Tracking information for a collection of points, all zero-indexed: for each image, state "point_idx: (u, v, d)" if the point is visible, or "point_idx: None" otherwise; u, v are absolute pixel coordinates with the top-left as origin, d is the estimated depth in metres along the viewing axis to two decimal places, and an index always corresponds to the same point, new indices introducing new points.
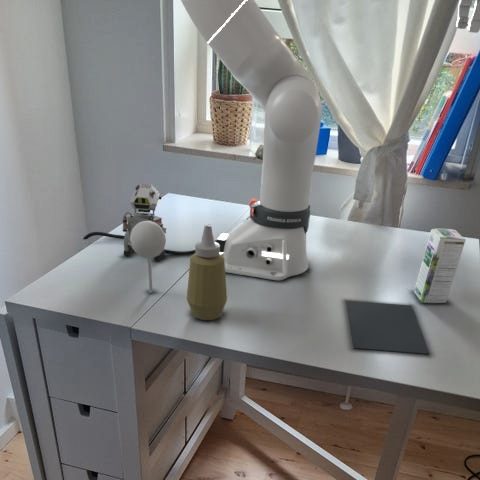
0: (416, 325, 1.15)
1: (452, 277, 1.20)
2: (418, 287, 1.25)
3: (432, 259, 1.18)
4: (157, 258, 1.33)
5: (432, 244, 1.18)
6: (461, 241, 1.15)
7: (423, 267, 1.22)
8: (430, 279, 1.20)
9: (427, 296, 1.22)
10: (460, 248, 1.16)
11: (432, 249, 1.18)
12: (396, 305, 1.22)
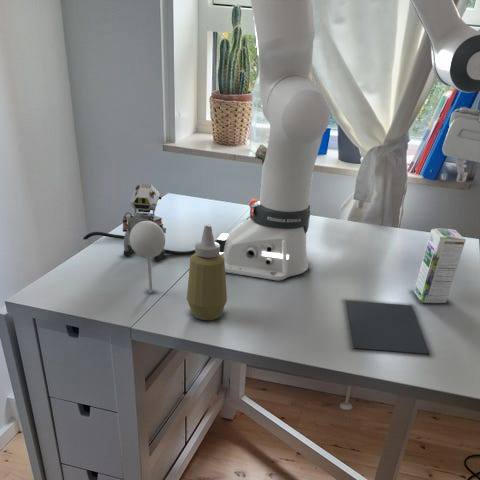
0: (416, 325, 1.15)
1: (452, 277, 1.20)
2: (418, 287, 1.25)
3: (432, 259, 1.18)
4: (157, 258, 1.33)
5: (432, 244, 1.18)
6: (461, 241, 1.15)
7: (423, 267, 1.22)
8: (430, 279, 1.20)
9: (428, 296, 1.22)
10: (460, 248, 1.16)
11: (432, 249, 1.18)
12: (396, 305, 1.22)
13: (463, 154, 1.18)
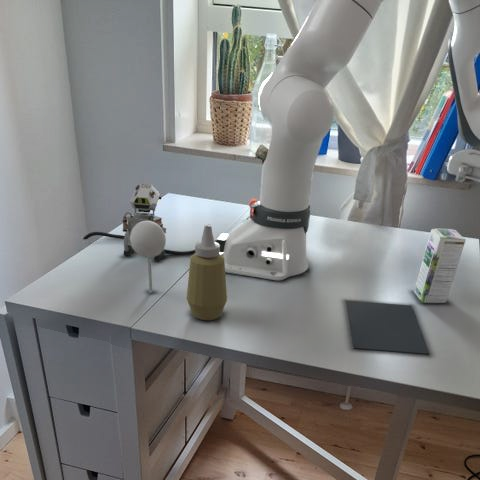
0: (416, 325, 1.15)
1: (452, 277, 1.20)
2: (418, 287, 1.25)
3: (432, 259, 1.18)
4: (157, 258, 1.33)
5: (432, 244, 1.18)
6: (461, 241, 1.15)
7: (423, 267, 1.22)
8: (430, 279, 1.20)
9: (428, 296, 1.22)
10: (460, 248, 1.16)
11: (432, 249, 1.18)
12: (396, 305, 1.22)
13: (471, 160, 1.23)
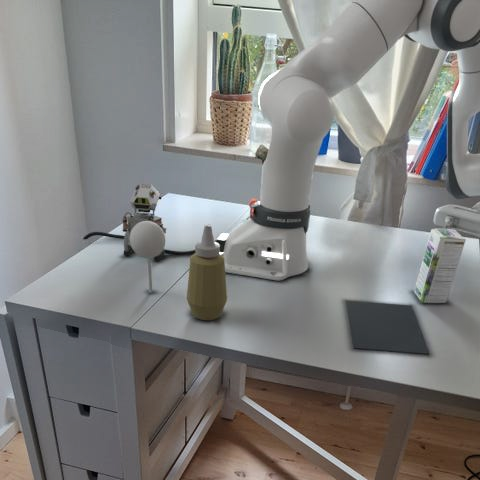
0: (416, 325, 1.15)
1: (452, 277, 1.20)
2: (418, 287, 1.25)
3: (432, 259, 1.18)
4: (157, 258, 1.33)
5: (432, 244, 1.18)
6: (461, 241, 1.15)
7: (423, 267, 1.22)
8: (430, 279, 1.20)
9: (428, 296, 1.22)
10: (460, 248, 1.16)
11: (432, 249, 1.18)
12: (396, 305, 1.22)
13: (456, 212, 1.31)
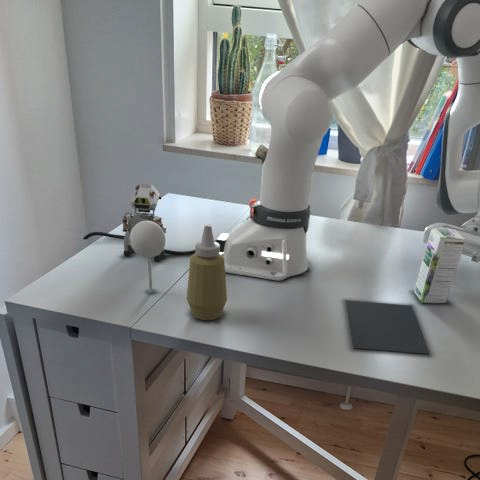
0: (416, 325, 1.15)
1: (452, 277, 1.20)
2: (418, 287, 1.25)
3: (432, 259, 1.18)
4: (157, 258, 1.33)
5: (432, 244, 1.18)
6: (461, 241, 1.15)
7: (423, 267, 1.22)
8: (430, 279, 1.20)
9: (428, 296, 1.22)
10: (460, 248, 1.16)
11: (432, 249, 1.18)
12: (396, 305, 1.22)
13: None
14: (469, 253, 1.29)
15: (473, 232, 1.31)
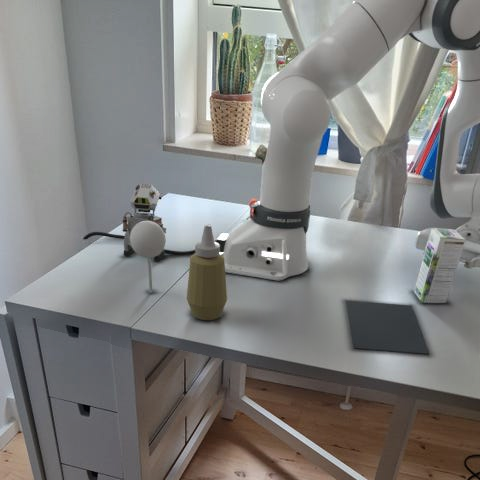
0: (416, 325, 1.15)
1: (452, 277, 1.20)
2: (418, 287, 1.25)
3: (432, 259, 1.18)
4: (157, 258, 1.33)
5: (432, 244, 1.18)
6: (461, 241, 1.15)
7: (423, 267, 1.22)
8: (430, 279, 1.20)
9: (428, 296, 1.22)
10: (460, 248, 1.16)
11: (432, 249, 1.18)
12: (396, 305, 1.22)
13: None
14: (462, 259, 1.26)
15: (466, 237, 1.29)
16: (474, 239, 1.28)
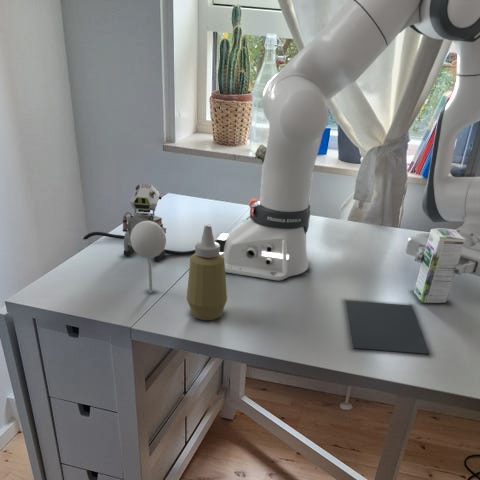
0: (416, 325, 1.15)
1: (452, 277, 1.20)
2: (418, 287, 1.25)
3: (432, 259, 1.18)
4: (157, 258, 1.33)
5: (432, 244, 1.18)
6: (461, 241, 1.15)
7: (423, 267, 1.22)
8: (430, 279, 1.20)
9: (428, 296, 1.22)
10: (460, 248, 1.16)
11: (432, 249, 1.18)
12: (396, 305, 1.22)
13: None
14: None
15: None
16: (466, 245, 1.25)
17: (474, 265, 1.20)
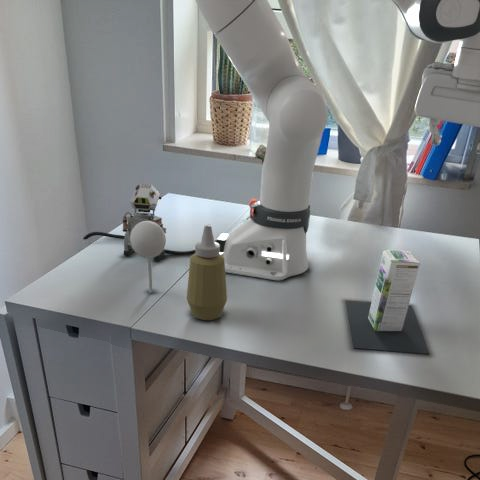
0: (416, 325, 1.15)
1: (407, 304, 1.09)
2: (371, 313, 1.13)
3: (384, 284, 1.06)
4: (157, 258, 1.33)
5: (384, 267, 1.06)
6: (415, 265, 1.04)
7: (376, 292, 1.10)
8: (383, 306, 1.08)
9: (381, 324, 1.11)
10: (414, 272, 1.05)
11: (384, 273, 1.06)
12: None
13: (436, 114, 1.10)
14: None
15: (468, 89, 1.05)
16: (477, 90, 1.04)
17: None
